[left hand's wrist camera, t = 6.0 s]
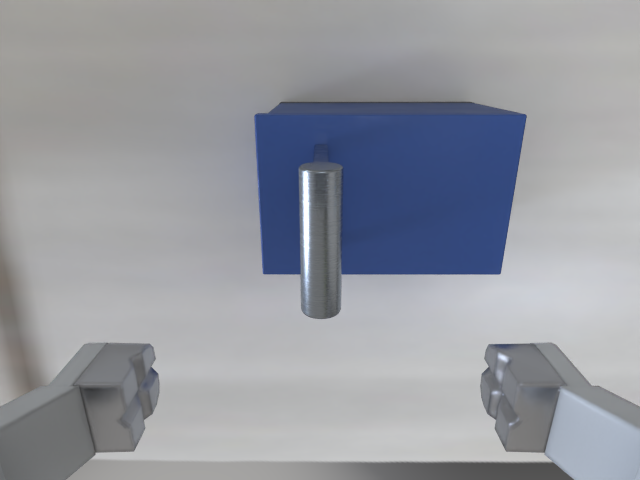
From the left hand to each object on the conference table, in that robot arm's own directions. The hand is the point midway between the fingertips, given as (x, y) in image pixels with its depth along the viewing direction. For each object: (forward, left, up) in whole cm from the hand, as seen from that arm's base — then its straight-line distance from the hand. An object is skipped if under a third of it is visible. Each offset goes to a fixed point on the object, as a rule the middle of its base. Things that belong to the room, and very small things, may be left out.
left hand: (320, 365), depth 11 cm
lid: (+2, -3, -15) cm, 16 cm away
